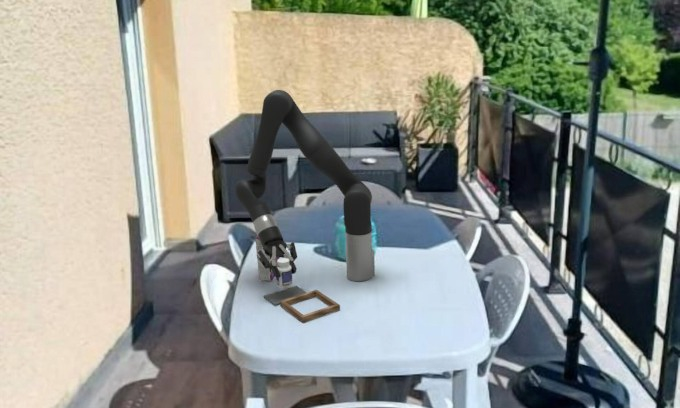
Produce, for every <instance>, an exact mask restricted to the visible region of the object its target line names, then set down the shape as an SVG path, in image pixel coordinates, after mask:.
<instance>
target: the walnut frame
mask: <svg viewBox="0 0 680 408" xmlns="http://www.w3.org/2000/svg"><path fill="white" fill-rule="evenodd" d="M306 292H307V291H306ZM312 298H316V299H319V300H320V301H322V302H323V303H325V304H326V305H327V307H323V308H320V309H317V310H315V311H312V312H308V313H306V314H303V313H302V312H300V311H299V310H297V308H295V307H293V306H292V305H295V304H297V303H301V302H304V301H306V300H309V299H312ZM280 307H281V308H282V309H284V310H285V311H286V312H287V313H289V314H290V315H292V317H294V318H296V319H297V320H298V321H300V322H301V323H303V324H304V323H306V322H309V321H312V320H314V319H317V318H321V317H324V316H327V315H329V314H331V313H334V312H335V313H336V312H338V311H341V305H340V304H339V303H337V302H336V301H335V300H333V299H332V298H330V297H329V296H327V295H326V294H324V293H323V292H321V291H319V290H318V289H314V290H311V291H308V292H307V293H304V294H301V295H298V296H295V297H292V298H289V299H285V300H282V301H280Z"/></svg>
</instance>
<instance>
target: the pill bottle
mask: <svg viewBox="0 0 680 408" xmlns="http://www.w3.org/2000/svg"><path fill="white" fill-rule="evenodd" d="M277 265H278V266H277V268H278V270H279V272H280V275H281V276H280V278H276V277H275V278H276V279H275V281H276V286H277V287H278V288H283V289H287V288H290V287H292V285H293V274H292V267H291V265H289V259H288V258H282V257H281V258H279V259H278V260H277Z"/></svg>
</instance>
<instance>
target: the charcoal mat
mask: <svg viewBox="0 0 680 408" xmlns="http://www.w3.org/2000/svg"><path fill="white" fill-rule="evenodd" d="M304 293H307V291H305V290H303V289H302V288H301V287H299V286H298V285H294V286H290V287H286V288H283V289H282V290H278V291H275V292H272V293H268V294H266V295H265V294H264V295H262V296H263V297H264V298H263V299H265V300H266V301H267V302H268V303H270V304H271V305H273V306H274V307H276V306H277V307H278V306H279V305H280V301H282V300H285V299H289V298H292V297H295V296H298V295H301V294H304Z"/></svg>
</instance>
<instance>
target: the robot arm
mask: <svg viewBox="0 0 680 408" xmlns="http://www.w3.org/2000/svg"><path fill="white" fill-rule="evenodd" d="M282 124H283V125H284V126H285V127H286V129H288V131H289V132H290V133H291V136H292V138H293V139H294V141H295V143H296V145H297V147H298V148H299V150H300V152H301V153H302V155H303V156H304V158H306V160H307V162H309V163H310V164H311V166H313V168H315V170H316V171H317V172H319V173H320V174H322V175H323V176H324V177H326V178H327V179H329V180H331V181H332V182H333V183H334V184H335V186H337V188H338V189H339V191H340V192H341V193H342V195H343V196H344V197H343V223H344V228H345V229H344V231H345V234H344V235H345V254H346V255H345V263H346V264H345V266H346V267H345V269H346V277H347V279H348V280H350V281H354V282H364V281H368V280H370V279H372V277H373V276H374V277H375V274H376V273H375V272H376V271H375V267H376V266H375V262H376V261H375V250H374V249H373V240H372V239H373V234H372V233H373V231H372V229H373V227H372V226H373V225H372V215H371V214H372V213H371V211H372V210H371V203H372V201H373V199H372V198H373V195H372V192H371V190H370V188H369V187H368V186H367V185H366V184H365V183H364V182H363V181H362V180H361V179H359V178H358V177H357V175H356V174H354V172H353V171H352V170H350V169H351V168H349V167H348V165H347V164H346V163H345V161H344V160H343V159H342V158H341V156H340V155H339V154H338V152H336V150H335V149H334V147H333V146H332V145H331V144H330V143H329V141H328V140H327V139H326V138H325V137H324V136H323V134H321V133H320V131H319V130H318V129H317V128H316V127H315V125H313V124H312V123H311V122H310V121H309V119H308V118H307V117H306V116H305V115H304V114H303V111H301V109H300V108H299V106H298V105H297V103H296V102H295V100H294V99H293V97H292V95H290V93H289V92H287V91H286V90H283V89H276V90H273V91H271V92H269V93H267V95H266V96H265V97H264V99H263V102H262V111H261V115H260V123H259V126H258V127H259V128H258V132H257V134H256V138H255V141H254V144H253V147H252V149H251V153H250V156H249V159H248V161H247V162H248V163H247V164H246V171H247V173H248V174H250V175H251V176H252V179H240V180H238V181H237V183H236V184H235V187H234V191H235V192H234V193H235V195H236V198H237V200H238V201H239V202H240V204H241V205H242V206H243V208H244V210H246V212H247V213H248V214H249V216H250V219H251V221H252V224H253V228H254V230H255V233H256V236H258V238H259V240H260V242H261V245H262V247H263V250H262V251H259V252H258V253H257V252H256V258H257V257H258V259H259V260H260V262H261V263H262V264H263V266H264V267H265V268H266V269H267V268H270V269H271V270H272V272H273V274H274V276H275V277H274V278H280V276H281V275H280V272H279V270H278V268H277V266H275V265H276V258H279V259H280V258H288V259H289V265H291V267H292V275H294V274H296V273H297V270H298V268H297V267H296V264H295V261H296V259H297V258H298V254H297V248H296V245H295V242H294V241H293V242H291V243H287V242H285V241H284V237H283V235H282V233H281V230H280V228H279V225H278V223H277V221H276V219H275V217H274V216H273V214H272V212H271V209H270V208H269V204H268V203H266V201H263V200H261V199H262V198H263V196H264V195H265V193H266V188H267V172H268V169H269V166H270V163H271V160H272V156H273V153H274V147H275V141H276V139H277V135H278V133H279V129H280V127H281V125H282ZM287 249H288V250H287ZM265 254H266V255H268V256H269V261H268V260H267V258H266V257H265Z"/></svg>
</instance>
